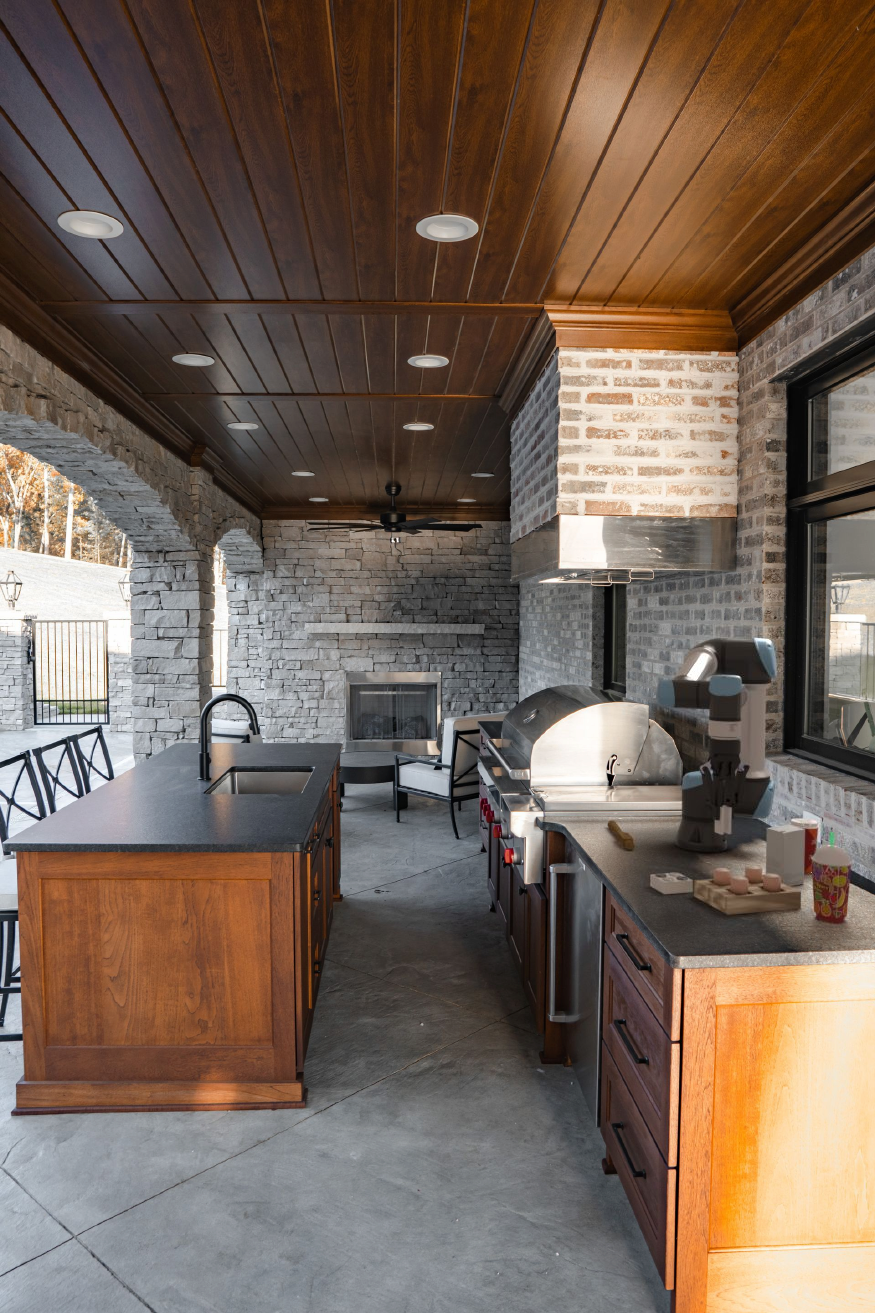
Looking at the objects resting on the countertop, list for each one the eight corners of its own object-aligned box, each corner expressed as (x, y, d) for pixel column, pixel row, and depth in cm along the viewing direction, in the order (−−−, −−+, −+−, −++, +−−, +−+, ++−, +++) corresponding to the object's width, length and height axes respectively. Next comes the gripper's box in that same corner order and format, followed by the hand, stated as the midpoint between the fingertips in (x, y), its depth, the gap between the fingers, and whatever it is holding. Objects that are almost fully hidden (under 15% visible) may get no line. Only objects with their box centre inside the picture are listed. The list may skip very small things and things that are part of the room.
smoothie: (803, 913, 192) (804, 828, 191) (837, 912, 192) (838, 828, 192) (822, 926, 183) (824, 837, 183) (858, 925, 184) (860, 837, 184)
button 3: (741, 880, 205) (741, 865, 205) (755, 879, 206) (755, 864, 206) (751, 885, 201) (751, 870, 201) (765, 884, 203) (765, 869, 202)
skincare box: (786, 878, 220) (787, 823, 219) (805, 884, 214) (806, 828, 214) (764, 882, 216) (765, 826, 216) (782, 888, 211) (783, 831, 210)
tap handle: (616, 820, 277) (636, 841, 247) (616, 829, 277) (635, 851, 247) (607, 819, 277) (625, 841, 247) (607, 828, 277) (625, 851, 247)
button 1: (710, 882, 203) (710, 868, 203) (724, 881, 204) (724, 867, 204) (719, 887, 199) (719, 872, 199) (733, 886, 200) (734, 871, 200)
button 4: (759, 888, 199) (759, 873, 198) (773, 887, 200) (773, 872, 200) (769, 893, 195) (770, 878, 195) (784, 892, 196) (784, 877, 196)
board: (694, 896, 204) (694, 880, 204) (763, 890, 209) (763, 875, 209) (727, 914, 190) (727, 897, 190) (800, 908, 195) (801, 891, 195)
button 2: (726, 891, 196) (727, 876, 196) (741, 890, 197) (741, 874, 197) (737, 896, 192) (737, 880, 192) (751, 895, 193) (752, 879, 193)
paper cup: (821, 875, 223) (822, 824, 222) (791, 873, 224) (792, 823, 224) (814, 867, 230) (815, 818, 230) (785, 866, 232) (786, 817, 231)
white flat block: (650, 886, 212) (650, 873, 212) (677, 884, 214) (677, 871, 214) (664, 894, 205) (664, 881, 205) (692, 892, 207) (692, 879, 207)
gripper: (707, 740, 195) (705, 838, 196) (759, 739, 199) (757, 835, 200) (690, 736, 203) (688, 831, 203) (740, 735, 206) (739, 828, 207)
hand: (722, 832), depth 201 cm, fingers closed
